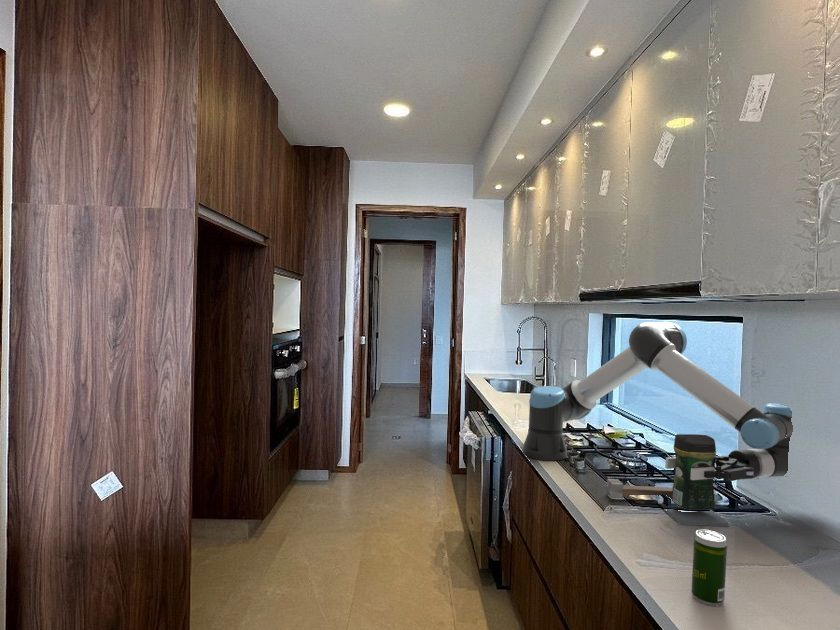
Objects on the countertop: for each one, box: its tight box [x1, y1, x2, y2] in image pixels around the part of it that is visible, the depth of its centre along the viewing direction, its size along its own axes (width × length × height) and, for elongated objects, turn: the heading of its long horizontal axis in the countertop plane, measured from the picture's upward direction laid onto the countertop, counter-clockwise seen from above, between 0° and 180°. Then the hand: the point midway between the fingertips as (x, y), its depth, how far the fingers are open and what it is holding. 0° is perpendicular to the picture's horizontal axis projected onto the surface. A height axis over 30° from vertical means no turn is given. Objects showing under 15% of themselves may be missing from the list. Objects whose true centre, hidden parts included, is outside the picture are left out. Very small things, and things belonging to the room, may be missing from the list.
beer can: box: [690, 529, 728, 607], centre depth 99 cm, size 5×5×12 cm
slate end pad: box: [666, 509, 730, 527], centre depth 139 cm, size 13×12×1 cm
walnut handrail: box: [606, 478, 673, 499], centre depth 149 cm, size 4×24×4 cm, turn 88°
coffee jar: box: [672, 433, 717, 510], centre depth 138 cm, size 10×8×19 cm
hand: (678, 468), depth 137 cm, fingers closed on coffee jar, 8 cm apart
